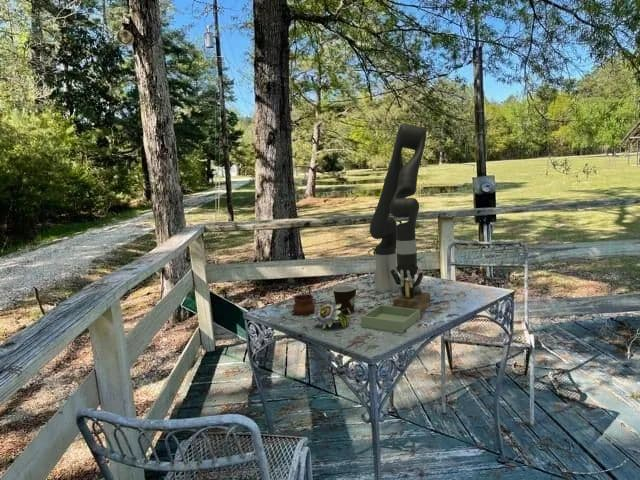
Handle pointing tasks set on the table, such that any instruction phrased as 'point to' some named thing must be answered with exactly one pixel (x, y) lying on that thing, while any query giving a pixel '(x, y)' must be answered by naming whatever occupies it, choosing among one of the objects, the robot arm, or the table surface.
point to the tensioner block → (413, 300)
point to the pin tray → (390, 318)
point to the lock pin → (407, 290)
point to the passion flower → (330, 314)
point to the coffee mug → (345, 298)
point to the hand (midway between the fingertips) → (408, 295)
